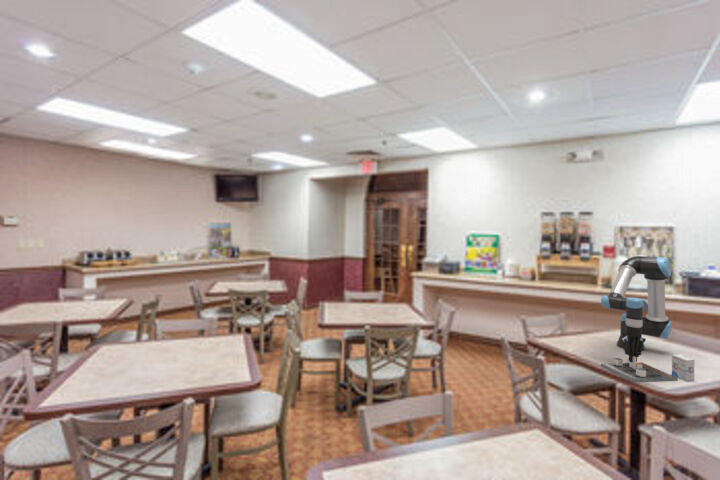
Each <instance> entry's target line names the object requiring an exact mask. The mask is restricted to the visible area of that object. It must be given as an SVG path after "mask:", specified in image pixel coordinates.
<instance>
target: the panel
mask: <svg viewBox="0 0 720 480" xmlns="http://www.w3.org/2000/svg"><path fill="white" fill-rule="evenodd" d="M639 363H640V364H642V369H645V370H646V377H640V376H638V375H636V370H634V369H633V368H631V367H629V362H623V366H617V365H615V364H614V362H610V363H607V362H604V363H600V367H602V368H604V369H606V370H608V371H609V372H611V373H613V374H616V375H618V376H619V377H622V378H623V379H625V380H627V381H629V382H631V383H647V382H648V383H649V382H652V383H653V382H677V381H678V380H679V378H677V377H675V376H673V375H672V374H670V373H667V372H665V371H662V370H660V369H658V368H656V367H654V366H651V365H648V364H646V363H644V362H639Z"/></svg>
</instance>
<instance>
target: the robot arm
mask: <svg viewBox="0 0 720 480" xmlns="http://www.w3.org/2000/svg"><path fill="white" fill-rule="evenodd" d="M617 272H618V273H617V276H616V278H615V280H614V282H613V284H612V287H611V289H610V290H609V293H608V294H606V295H605V294H604V295H602V297H601V300H600V303H601V306H602V307H603V308H606V309H612V310H617V311H624V312H625V313H622V314H621V316H620V329H619V330H620V331H619V332H620V335H619V337H618V340H617V342H616V346H617V347H618V348H621V349H624V354H625V355H627V356H628V363H629V367H631V368H636V363H637V361H638V358H639V357H640V356H641V355H642V353H643V351H645V349H646V348H645V346H646V345H645V342H646V340H647V339H646V338H644V337H643V336H642V335H644V336H648V337H653V338H659V339H668V338H669V337H670V336H671V335H670V334H671V332H672V329H673V328H672V327H673V321H671V320H670V319H669V316H667V315H666V283H665V282H666V280H668V279H669V277H671V275H672V265H671V261H670V260H669V258H667V257H664V256H663V257H662V256H643V255H642V256H641V255H636V256H631V257H629V258H627V259H625V260H624V261H623V262H621V264H620V265H619V266H618V269H617ZM636 275H644V276H643V277H644V279H646V281H647V283H646V284H647V300H646V299H643V298H639V297H625V296H626V293H627V290H628V289H629V286H630V284H631V281H632V279H633V277H635V276H636ZM646 312H648V313H647V314H646V315H645V316H644V313H646Z"/></svg>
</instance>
